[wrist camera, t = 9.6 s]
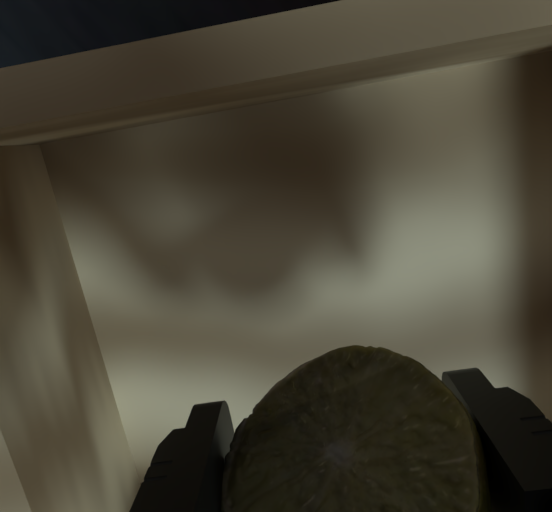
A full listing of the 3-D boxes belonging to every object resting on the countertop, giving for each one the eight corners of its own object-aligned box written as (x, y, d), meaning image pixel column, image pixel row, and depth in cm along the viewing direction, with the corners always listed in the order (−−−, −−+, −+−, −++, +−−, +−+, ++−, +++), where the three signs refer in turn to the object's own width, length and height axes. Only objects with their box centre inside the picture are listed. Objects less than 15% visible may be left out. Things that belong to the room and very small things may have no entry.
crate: (17, 117, 14) (-176, 103, 8) (570, 13, 13) (804, -92, 7) (146, 540, 18) (78, 727, 12) (571, 495, 17) (716, 680, 11)
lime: (217, 436, 11) (159, 662, 6) (313, 280, 10) (331, 413, 5) (366, 511, 12) (417, 775, 7) (476, 369, 10) (632, 569, 6)
